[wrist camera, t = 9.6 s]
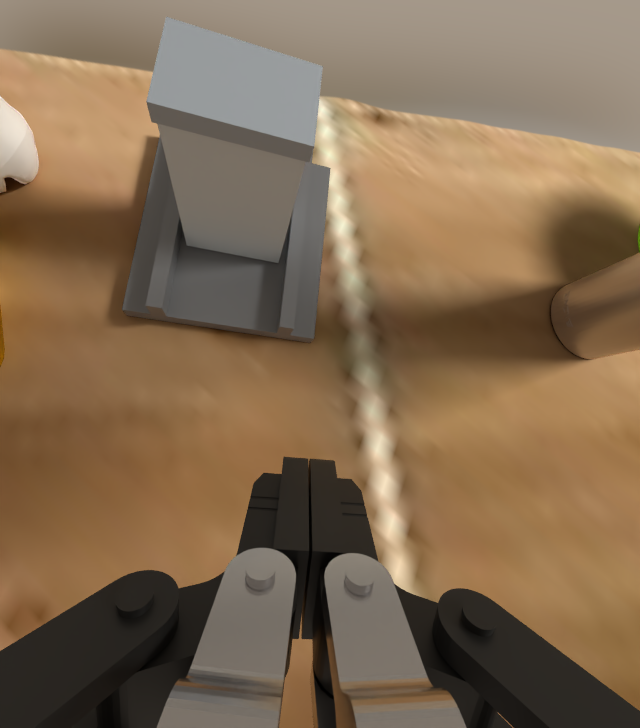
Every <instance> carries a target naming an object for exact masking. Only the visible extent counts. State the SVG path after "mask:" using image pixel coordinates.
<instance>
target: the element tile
mask: <svg viewBox="0 0 640 728" xmlns="http://www.w3.org/2000/svg"><path fill="white" fill-rule="evenodd" d="M4 351H5V349H4V338H3V328H2V317H1V307H0V367H1V364H2V362H3V359H4Z"/></svg>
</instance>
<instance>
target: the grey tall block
mask: <svg viewBox="0 0 640 728" xmlns="http://www.w3.org/2000/svg"><path fill="white" fill-rule="evenodd" d="M322 68H323V66H320V65H317V64H314V63H311V62H308V61H304V60H301V59H298V58H295V57H291V56H289V55H285V54H282V53H279V52H276V51H273V50H270V49H267V48H263V47H260V46H257V45H254V44H251V43H248V42H244V41H241V40H238V39H235V38H232V37H229V36H226V35H222V34H219V33H216V32H213V31H210V30H207V29H203V28H200V27H197V26H194V25H191V24H188V23H185V22H182V21H178V20H175V19H172V18H169V17H166V20H165V25H164V29H163V33H162V37H161V41H160V46H159V50H158V54H157V59H156V63H155V67H154V71H153V76H152V80H151V84H150V89H149V93H148V97H147V101H146V102H147V106H148V110H149V113H150V117H151V121H152V122H153V123H157V124H158V128H159V132H160V136H161V140H162V145H163V149H164V153H165V157H166V161H167V165H168V170H169V174H170V178H171V182H172V186H173V190H174V194H175V199H176V203H177V207H178V211H179V215H180V219H181V223H182V228H183V232H184V236H185V240H186V244H187V246H192V247H197V248H202V249H208V250H213V251H218V252H223V253H228V254H234V255H239V256H244V257H249V258H254V259H259V260H265V261H270V262H275V263H279V259H280V256H281V252H282V248H283V244H284V241H285V237H286V233H287V229H288V226H289V222H290V218H291V215H292V211H293V207H294V203H295V200H296V196H297V192H298V188H299V185H300V181H301V177H302V173H303V170H304V166H305V162H309V163H310V159H311V156H312V152H313V149H314V143H315V133H316V124H317V115H318V106H319V96H320V87H321V78H322Z"/></svg>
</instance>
